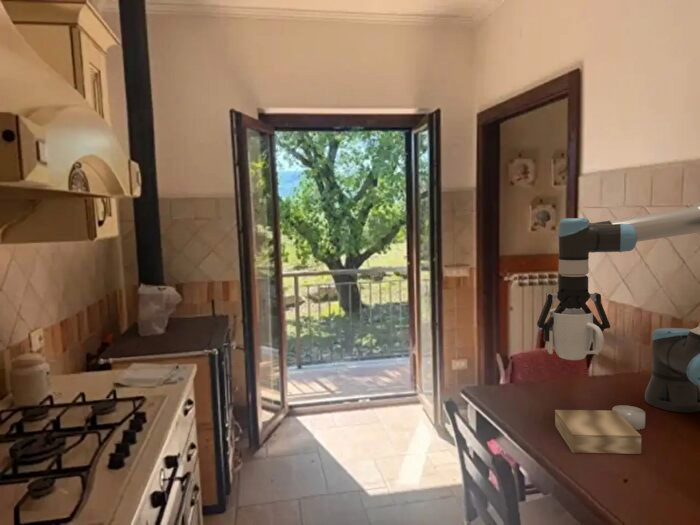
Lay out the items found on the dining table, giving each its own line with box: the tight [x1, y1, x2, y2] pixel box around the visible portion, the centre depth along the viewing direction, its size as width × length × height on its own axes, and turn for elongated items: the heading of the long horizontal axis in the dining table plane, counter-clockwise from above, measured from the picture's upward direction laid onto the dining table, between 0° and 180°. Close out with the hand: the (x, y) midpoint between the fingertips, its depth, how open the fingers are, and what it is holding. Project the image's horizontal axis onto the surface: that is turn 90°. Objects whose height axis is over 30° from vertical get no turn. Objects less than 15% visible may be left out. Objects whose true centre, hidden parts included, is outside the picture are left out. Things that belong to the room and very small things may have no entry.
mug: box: [549, 307, 605, 361], centre depth 141 cm, size 15×11×13 cm
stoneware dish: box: [611, 404, 646, 431], centre depth 142 cm, size 8×8×4 cm
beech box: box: [554, 409, 642, 455], centre depth 134 cm, size 16×16×5 cm
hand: (572, 353), depth 142 cm, fingers closed on mug, 11 cm apart
